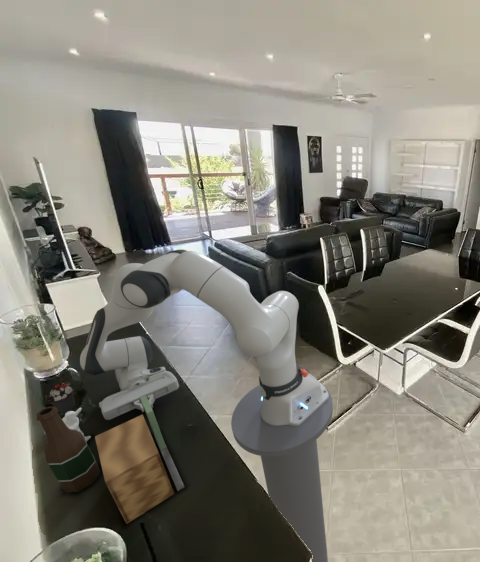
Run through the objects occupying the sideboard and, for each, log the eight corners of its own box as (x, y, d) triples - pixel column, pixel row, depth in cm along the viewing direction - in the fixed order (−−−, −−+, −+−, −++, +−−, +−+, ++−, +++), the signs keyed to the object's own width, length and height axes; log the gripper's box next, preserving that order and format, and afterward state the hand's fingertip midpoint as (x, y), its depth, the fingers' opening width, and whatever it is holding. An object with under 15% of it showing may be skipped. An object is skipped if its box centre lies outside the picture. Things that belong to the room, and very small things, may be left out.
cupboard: (159, 431, 98) (145, 394, 92) (184, 487, 83) (170, 446, 77) (109, 457, 90) (90, 418, 84) (126, 524, 75) (104, 481, 69)
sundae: (89, 408, 106) (72, 372, 100) (81, 424, 101) (62, 386, 95) (65, 414, 104) (46, 377, 98) (54, 430, 99) (33, 392, 93)
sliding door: (159, 430, 98) (146, 394, 92) (167, 446, 93) (154, 410, 87) (153, 433, 97) (140, 397, 91) (160, 450, 92) (146, 413, 86)
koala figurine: (94, 431, 98) (79, 401, 94) (97, 444, 94) (82, 414, 89) (57, 448, 93) (39, 417, 88) (58, 463, 89) (40, 431, 84)
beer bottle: (105, 461, 89) (72, 394, 79) (97, 486, 83) (60, 417, 73) (69, 472, 86) (31, 404, 76) (58, 499, 80) (14, 429, 70)
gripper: (94, 394, 99) (100, 419, 90) (168, 364, 112) (181, 383, 103) (101, 409, 102) (108, 435, 93) (173, 378, 115) (185, 398, 106)
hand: (147, 408), depth 98 cm, fingers closed
